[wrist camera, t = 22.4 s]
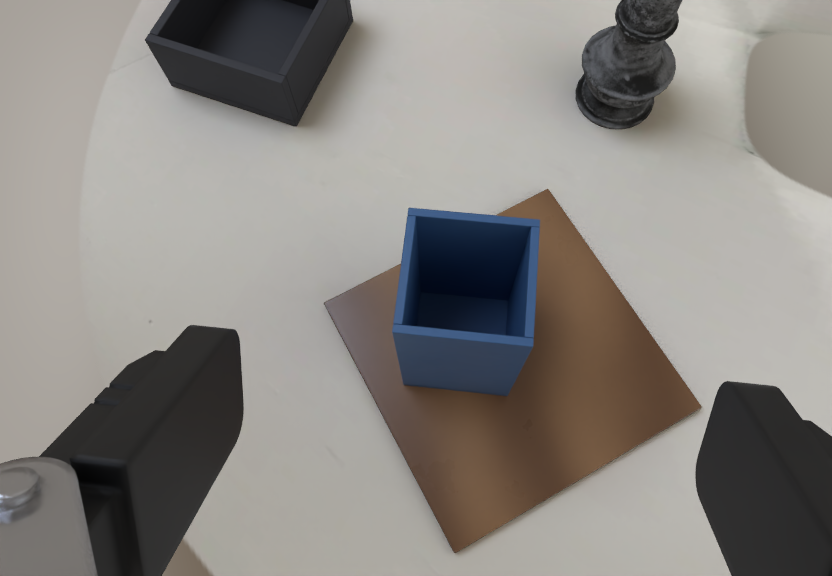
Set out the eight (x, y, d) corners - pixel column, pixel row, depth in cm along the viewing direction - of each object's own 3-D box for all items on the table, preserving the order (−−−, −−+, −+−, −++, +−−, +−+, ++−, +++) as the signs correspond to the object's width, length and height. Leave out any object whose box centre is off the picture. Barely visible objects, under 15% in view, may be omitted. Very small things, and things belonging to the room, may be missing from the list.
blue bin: (507, 396, 37) (533, 346, 27) (403, 385, 38) (391, 332, 28) (514, 297, 39) (540, 219, 29) (415, 288, 40) (408, 207, 30)
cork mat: (454, 553, 35) (454, 553, 34) (325, 305, 40) (323, 302, 40) (699, 408, 37) (702, 407, 37) (546, 192, 42) (548, 188, 42)
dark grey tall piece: (605, 47, 46) (660, -109, 35) (675, 93, 45) (755, -54, 33) (553, 99, 45) (592, -46, 34) (623, 148, 43) (689, 13, 32)
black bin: (296, 127, 45) (281, 83, 40) (171, 85, 46) (144, 39, 42) (353, 20, 48) (345, -31, 43) (234, -15, 49) (215, -68, 45)
